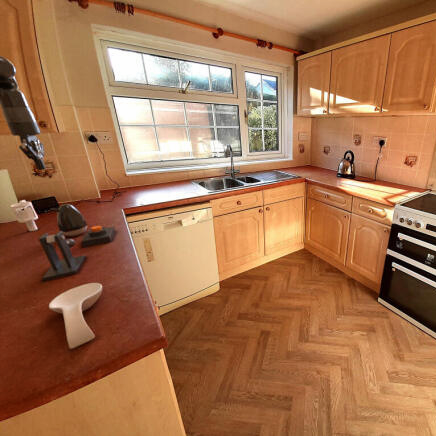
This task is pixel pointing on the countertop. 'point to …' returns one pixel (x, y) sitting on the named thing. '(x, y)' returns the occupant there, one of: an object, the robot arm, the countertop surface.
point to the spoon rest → (77, 311)
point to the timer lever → (52, 240)
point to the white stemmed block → (25, 214)
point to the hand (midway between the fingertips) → (41, 169)
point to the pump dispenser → (70, 220)
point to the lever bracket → (59, 266)
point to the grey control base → (98, 236)
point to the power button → (96, 228)
